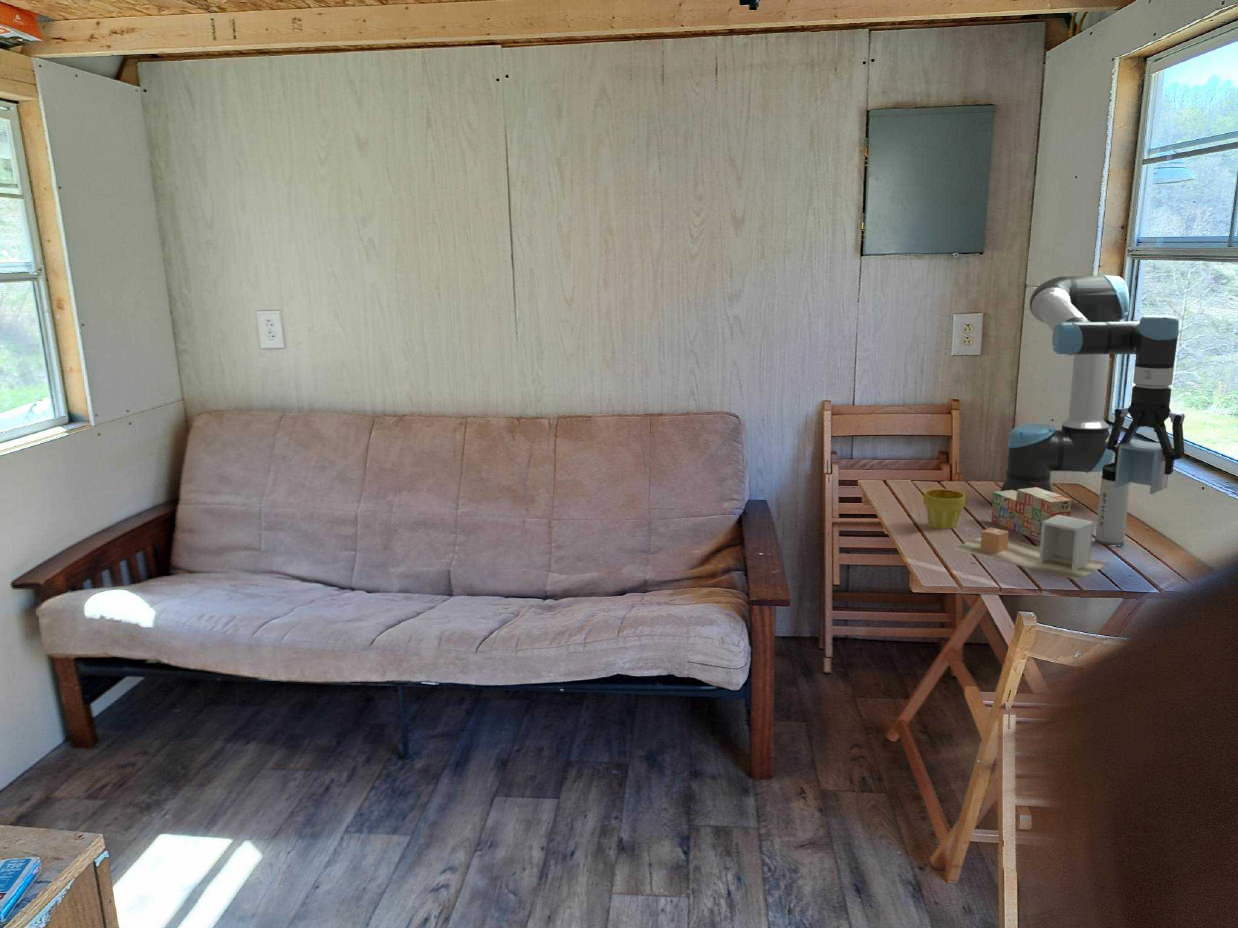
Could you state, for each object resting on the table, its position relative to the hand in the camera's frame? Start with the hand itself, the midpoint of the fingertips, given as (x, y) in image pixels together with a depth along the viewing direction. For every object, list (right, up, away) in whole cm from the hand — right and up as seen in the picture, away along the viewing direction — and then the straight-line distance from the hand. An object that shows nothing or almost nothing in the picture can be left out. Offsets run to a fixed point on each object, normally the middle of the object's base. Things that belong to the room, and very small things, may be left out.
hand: (1140, 484), depth 201 cm
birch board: (-22, -18, +9) cm, 30 cm away
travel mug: (+3, -15, +19) cm, 25 cm away
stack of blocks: (-13, -14, +28) cm, 34 cm away
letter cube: (-28, -16, +14) cm, 35 cm away
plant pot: (-33, -13, +35) cm, 49 cm away
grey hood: (-16, -18, +4) cm, 24 cm away
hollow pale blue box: (0, -1, 0) cm, 1 cm away
